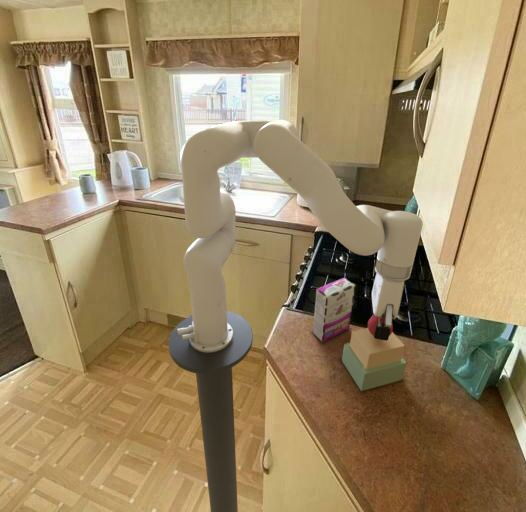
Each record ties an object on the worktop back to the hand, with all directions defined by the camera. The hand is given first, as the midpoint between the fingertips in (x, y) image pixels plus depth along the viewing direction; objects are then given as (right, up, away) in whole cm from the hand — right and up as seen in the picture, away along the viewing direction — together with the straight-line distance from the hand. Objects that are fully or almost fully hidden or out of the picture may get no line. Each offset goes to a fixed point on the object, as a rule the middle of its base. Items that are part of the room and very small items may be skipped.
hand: (379, 328), depth 77 cm
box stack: (0, -13, +6) cm, 14 cm away
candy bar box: (-9, -7, +19) cm, 22 cm away
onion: (0, -3, +1) cm, 3 cm away
